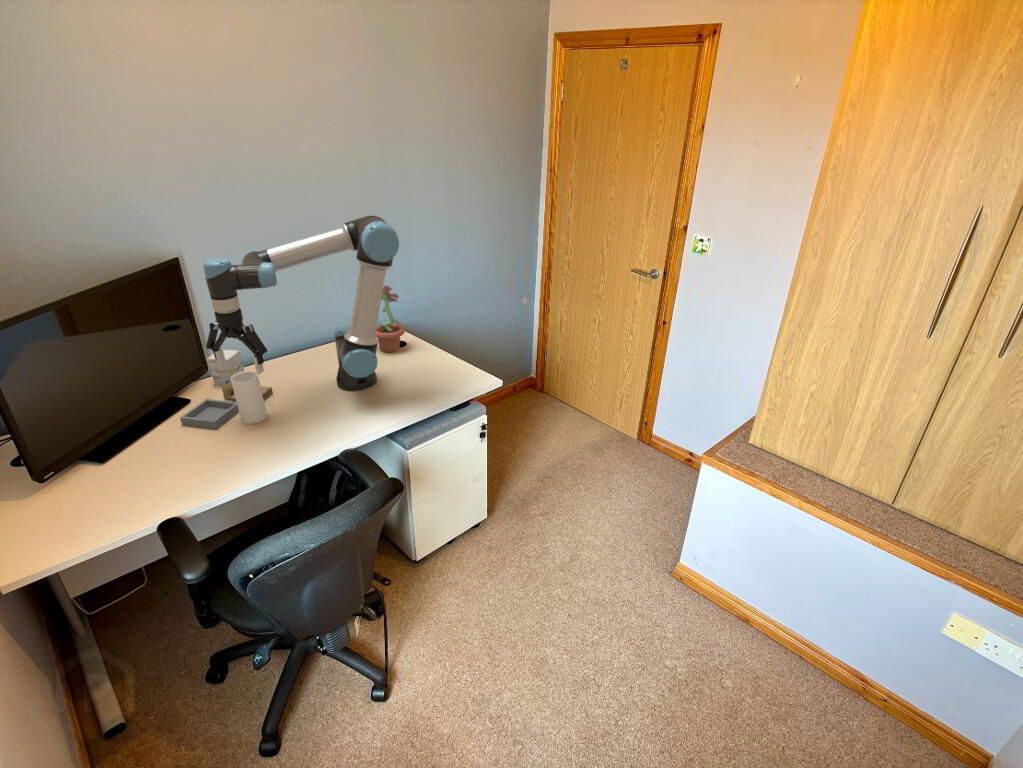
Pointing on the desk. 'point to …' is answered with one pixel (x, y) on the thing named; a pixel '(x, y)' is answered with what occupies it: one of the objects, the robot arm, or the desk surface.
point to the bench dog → (228, 391)
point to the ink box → (232, 367)
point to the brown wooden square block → (265, 392)
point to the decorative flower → (389, 325)
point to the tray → (210, 414)
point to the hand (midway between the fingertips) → (241, 370)
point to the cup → (249, 397)
